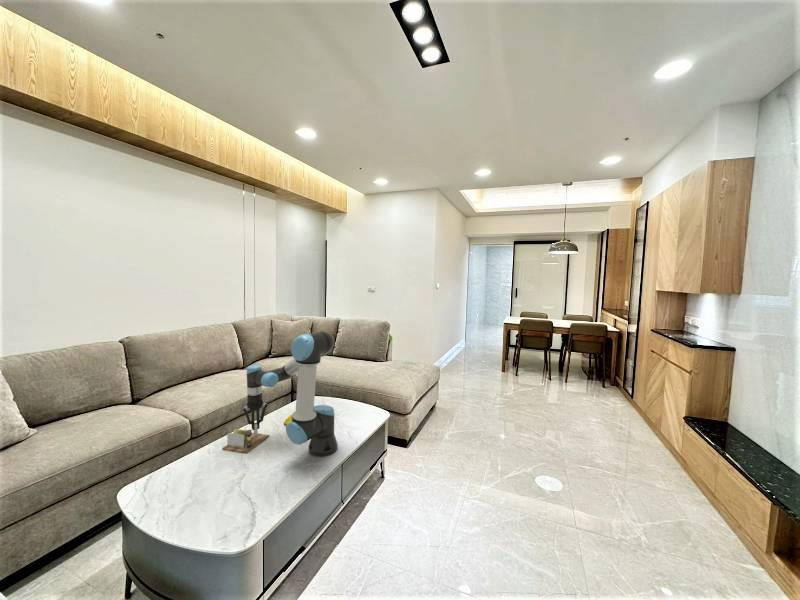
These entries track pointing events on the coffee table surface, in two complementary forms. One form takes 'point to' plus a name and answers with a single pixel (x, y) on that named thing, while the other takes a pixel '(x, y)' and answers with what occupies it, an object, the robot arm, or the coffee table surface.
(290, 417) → the door knocker
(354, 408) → the coffee table surface
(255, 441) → the walnut board
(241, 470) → the coffee table surface
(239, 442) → the fixed leaf
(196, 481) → the coffee table surface
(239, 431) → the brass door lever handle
